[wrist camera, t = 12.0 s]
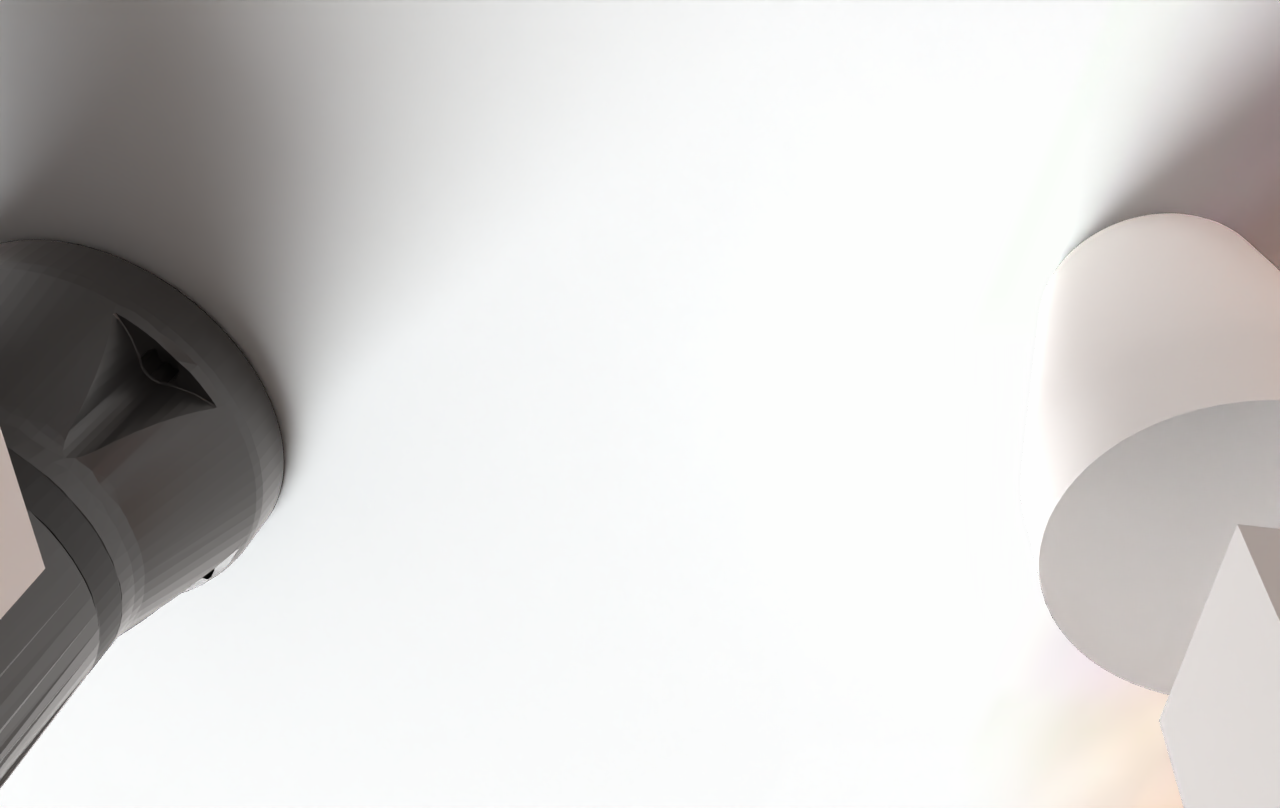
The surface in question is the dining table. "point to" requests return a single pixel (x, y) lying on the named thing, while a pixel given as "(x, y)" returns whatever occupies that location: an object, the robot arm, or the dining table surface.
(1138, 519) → the cup
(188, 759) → the dining table surface
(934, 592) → the dining table surface
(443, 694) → the dining table surface
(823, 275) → the dining table surface
